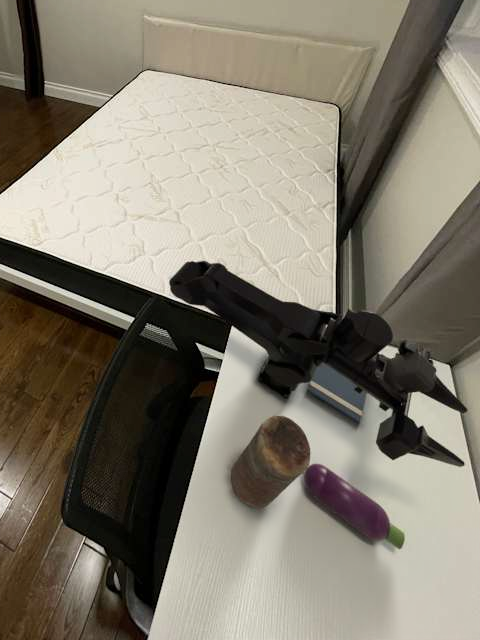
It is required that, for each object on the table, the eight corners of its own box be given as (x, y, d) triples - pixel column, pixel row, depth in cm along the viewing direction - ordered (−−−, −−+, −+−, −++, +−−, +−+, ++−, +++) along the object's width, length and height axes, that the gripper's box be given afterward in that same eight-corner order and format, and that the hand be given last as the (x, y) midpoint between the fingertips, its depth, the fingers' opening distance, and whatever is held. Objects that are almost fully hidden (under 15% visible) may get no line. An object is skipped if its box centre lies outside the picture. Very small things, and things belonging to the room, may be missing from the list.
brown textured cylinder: (276, 467, 65) (312, 425, 53) (274, 518, 60) (312, 485, 47) (233, 450, 67) (258, 406, 54) (227, 498, 62) (252, 461, 49)
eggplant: (296, 489, 63) (305, 481, 60) (305, 461, 66) (314, 452, 63) (391, 561, 56) (406, 556, 53) (396, 526, 59) (410, 520, 56)
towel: (306, 391, 75) (307, 389, 75) (325, 339, 84) (326, 338, 84) (358, 423, 71) (360, 422, 71) (372, 365, 80) (373, 364, 79)
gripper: (373, 391, 50) (507, 483, 44) (396, 304, 62) (503, 366, 56) (335, 420, 57) (446, 502, 51) (362, 337, 70) (454, 395, 63)
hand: (464, 436), depth 55 cm, fingers open, 9 cm apart
